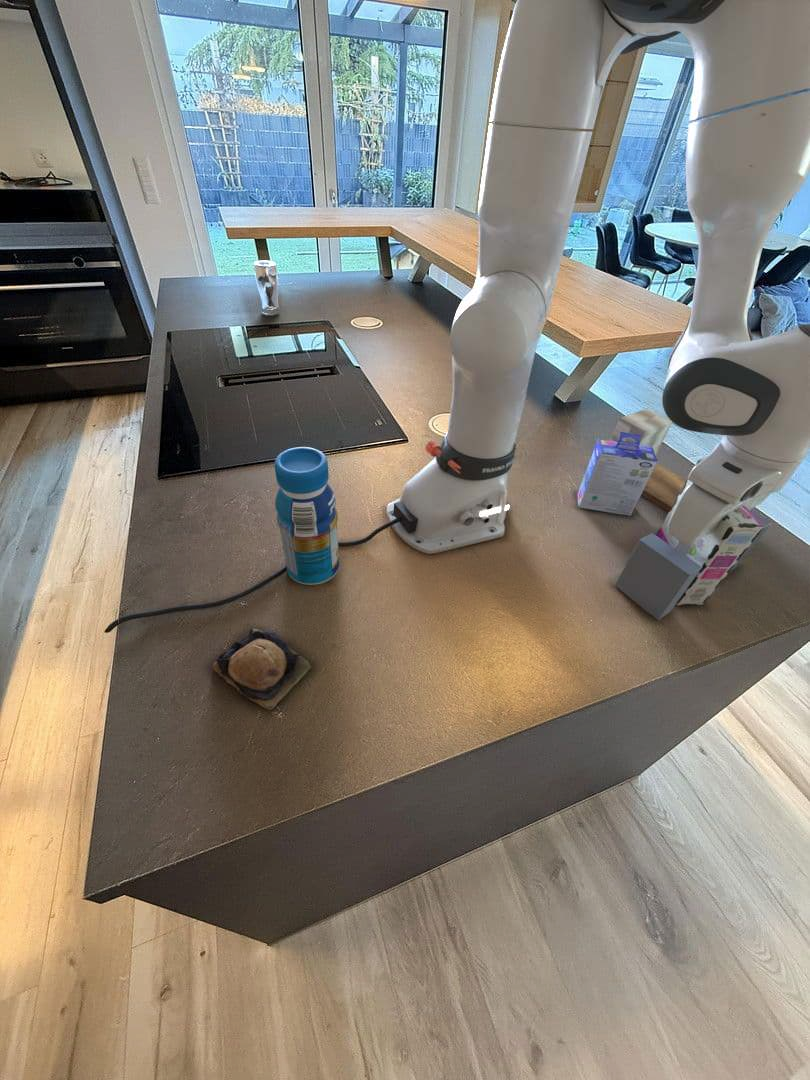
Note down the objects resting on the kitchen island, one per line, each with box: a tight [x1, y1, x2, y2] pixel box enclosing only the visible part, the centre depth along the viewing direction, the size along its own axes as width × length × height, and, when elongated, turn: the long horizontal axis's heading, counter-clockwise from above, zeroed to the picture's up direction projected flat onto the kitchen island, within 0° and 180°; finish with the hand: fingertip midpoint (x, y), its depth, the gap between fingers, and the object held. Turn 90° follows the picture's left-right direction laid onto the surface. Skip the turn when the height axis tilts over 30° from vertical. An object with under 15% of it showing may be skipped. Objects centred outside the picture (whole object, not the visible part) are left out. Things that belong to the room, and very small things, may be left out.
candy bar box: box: [655, 480, 765, 607], centre depth 69 cm, size 11×5×16 cm, turn 5°
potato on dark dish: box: [212, 628, 312, 711], centre depth 58 cm, size 11×8×4 cm
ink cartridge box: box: [577, 432, 658, 517], centre depth 84 cm, size 10×6×14 cm, turn 78°
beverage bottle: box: [274, 446, 340, 586], centre depth 66 cm, size 8×8×20 cm
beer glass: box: [253, 260, 280, 317], centre depth 152 cm, size 7×7×15 cm
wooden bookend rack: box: [610, 408, 708, 513], centre depth 90 cm, size 11×23×11 cm, turn 33°
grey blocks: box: [614, 509, 773, 621], centre depth 72 cm, size 22×8×10 cm, turn 123°
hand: (700, 540), depth 69 cm, fingers open, 8 cm apart
